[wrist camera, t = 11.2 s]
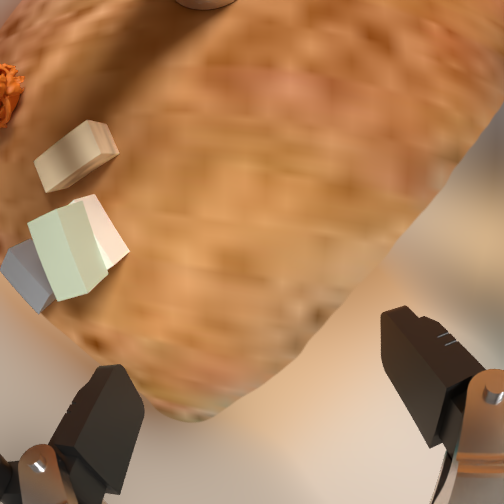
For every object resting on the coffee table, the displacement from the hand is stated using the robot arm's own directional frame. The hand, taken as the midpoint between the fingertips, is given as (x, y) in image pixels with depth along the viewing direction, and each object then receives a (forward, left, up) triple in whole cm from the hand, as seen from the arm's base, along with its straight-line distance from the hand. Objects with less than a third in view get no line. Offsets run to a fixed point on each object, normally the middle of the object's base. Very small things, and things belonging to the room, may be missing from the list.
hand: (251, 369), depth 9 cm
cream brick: (-3, -17, -26) cm, 31 cm away
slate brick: (-1, -28, -26) cm, 38 cm away
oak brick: (-12, -16, -26) cm, 33 cm away
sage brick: (-3, -17, -21) cm, 27 cm away
